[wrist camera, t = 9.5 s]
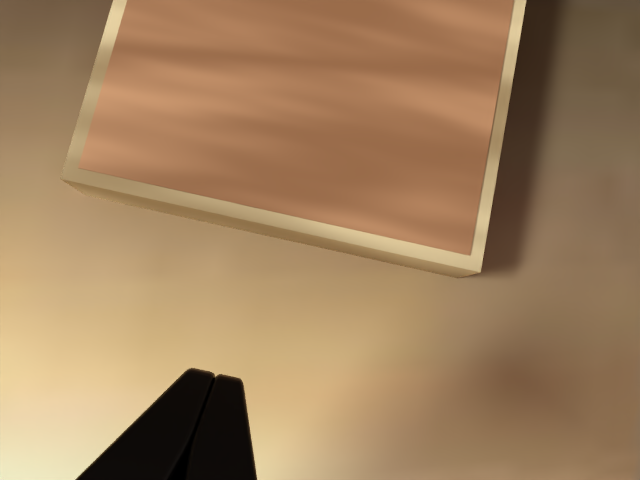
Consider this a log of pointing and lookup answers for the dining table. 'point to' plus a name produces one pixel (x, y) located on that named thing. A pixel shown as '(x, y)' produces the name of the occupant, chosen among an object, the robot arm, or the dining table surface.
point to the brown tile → (307, 120)
